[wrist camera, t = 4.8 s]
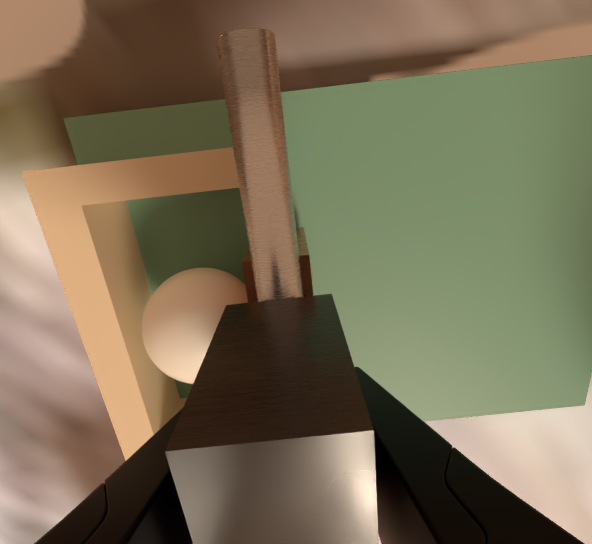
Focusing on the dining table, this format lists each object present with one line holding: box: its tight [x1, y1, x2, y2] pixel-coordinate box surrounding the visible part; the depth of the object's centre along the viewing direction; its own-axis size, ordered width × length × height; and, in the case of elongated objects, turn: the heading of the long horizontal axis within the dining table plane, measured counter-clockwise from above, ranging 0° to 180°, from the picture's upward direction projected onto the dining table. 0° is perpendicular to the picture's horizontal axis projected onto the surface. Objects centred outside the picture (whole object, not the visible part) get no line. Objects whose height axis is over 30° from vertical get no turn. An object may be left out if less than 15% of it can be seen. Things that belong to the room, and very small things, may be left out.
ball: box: [141, 267, 248, 384], centre depth 13 cm, size 4×4×4 cm
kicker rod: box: [165, 28, 379, 544], centre depth 10 cm, size 3×17×10 cm, turn 6°
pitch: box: [21, 55, 592, 461], centre depth 14 cm, size 22×16×4 cm
